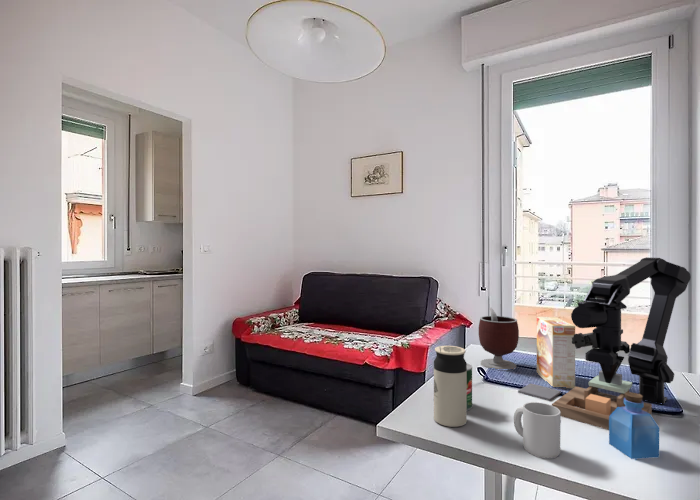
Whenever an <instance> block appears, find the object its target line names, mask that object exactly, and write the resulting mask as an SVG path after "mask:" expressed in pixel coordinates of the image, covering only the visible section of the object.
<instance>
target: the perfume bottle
mask: <svg viewBox="0 0 700 500" xmlns="http://www.w3.org/2000/svg"><path fill="white" fill-rule="evenodd" d="M625 397H626V398H624V404H625V407H617V408H616V409H615V410H614V411H613V413H612V414H611V415H610V416H609V430H608V440H609V441H608V445H610V446H612V448H615V449H616V450H617V451H619V452H620V453H622V454H623V455H624V456H627V458H629V459H631V460H634V459H638V460H639V459H654V458H655V459H656V458H657V459H658V458H660V426H659V425H658V423H657V422H656V421H655V419H654V418H653V415H652V414H651V415H650V414H649V413H647V412H645V411H643V410H642V408H643V407H644V402H645V401H644V400H642V397H643V396H642V395H640V394H638V393H637V392H631V391H629V392H626V393H625Z"/></svg>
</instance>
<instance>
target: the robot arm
mask: <svg viewBox="0 0 700 500" xmlns="http://www.w3.org/2000/svg"><path fill="white" fill-rule="evenodd" d="M691 276H692V275H691V273H690V271H688V270H687V268H685V266H681V265H678V264H675V263H672V262H670V261H669V262H668V261H666V259H664V258H660V257H644V258H641V259H640V260H639V261H638V262H636V263H635V264H633V265H631V266H629V267H627V268H625V269H623V270H622V271H620V272H618V273H617V274H614V275H606V276H602V277H598V278H596V279H594V280H593V282H592V284H591V285H590V288H589V289H588V292H587V293H586V295H585V296H584V298H583V301H577V306H575V308H573V309H572V312H571V314H570V318H571V321H572V322H573V324H574V326H575V327H577V328H579V329H589V328H590V329H591V328H594V329H592V332H587V333H583V332H579V333H575V334H574V337H572V344H575V350H576V349H577V350H578V349H581V348H585V347H591V349H589V350H588V351H586V352H585V361H587V362H591V363H596V364H599V366H600V368H601V370H602V372H603V375H604V379H605V382H606V383H611V382H612V380H613V378H614V376H615V374H616V373H617V372H618V370H619V369H620V367H621V364H622V362H623V361H624V359H625V356H621V355H619V354H618V352H620V351H621V352H624V354H627V356H628V357H627V362H628V363H627V364H628V366H629V371H630V373H631V375H636V376H638V380H639V383H638V385H639V386H638V388H639V389H638V393H637V394H640V395H642V396H643V397H642V401H644V400H646V402H649V401H651V402H650V403H653V402H657V403H662V404H664V403H665V404H666V402H667V401H668V399H667V398H668V397H667V396H665V383H666V384H671V383H672V382H673V381H674V379H675V373H674V371H673V370H672V369H671V368H670V366H669V365H668V354H667V352H666V349H665V348H664V344H665V340H666V336H667V333H668V329H669V325H670V323H671V318H672V314H673V311H674V306H675V302H676V301H677V300H676V299H677V298H679V296H680V295H682V294H683V293H684V292H685V291H686V290H687V288H688V285H689V283H690V282H691ZM647 279H650V285H651V287H652V290H653V292H654V294H653V298H652V302H651V305H650V309H649V313H648V317H647V321H646V323H645V327H644V330H643V335H642V337H641V340H640V341H638V342H637V343H634V342H632V343H631V345H630V344H629V343H628V342H627V341H623V340H622V334H624V329H622V310H623V309H624V310H625V309H627V305H626V304H625V303H623V302H622V301H623V300H625V299H626V298H627V297H628V296H629V295H630V294H631V289H632V288H633V287H635V286H637V285H639V284H640V283H642V282H644V281H645V280H647ZM666 400H667V401H666ZM665 401H666V402H665ZM657 403H656V404H657ZM662 404H661V405H662ZM665 404H664V405H665Z"/></svg>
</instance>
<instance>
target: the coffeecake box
mask: <svg viewBox="0 0 700 500" xmlns="http://www.w3.org/2000/svg"><path fill="white" fill-rule="evenodd" d="M574 334H576V325H575V324H574V325H573V324H572V323H569V322H567V321H565V320H563V319H561V318H559V317H556V316H555V317H554V316H553V317H549V316H536V372H537V373H538V374H537V373H536V374H537V375H539V376H540V377H541V378H542V379H543V380H544V381H545V382H546V381H547V382H548V383H549V384H550V385H551V386H553V387H566V388H565V389H573V388H574V387H576V347H575V344H572V337H574ZM547 382H546V383H547ZM548 383H547V384H548ZM549 384H548V385H549ZM550 385H549V386H550ZM551 386H550V387H551Z"/></svg>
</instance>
